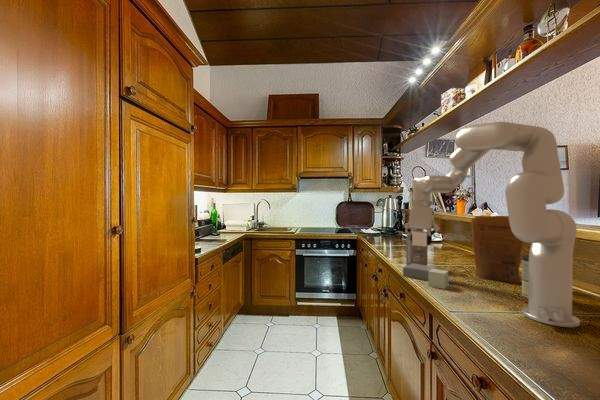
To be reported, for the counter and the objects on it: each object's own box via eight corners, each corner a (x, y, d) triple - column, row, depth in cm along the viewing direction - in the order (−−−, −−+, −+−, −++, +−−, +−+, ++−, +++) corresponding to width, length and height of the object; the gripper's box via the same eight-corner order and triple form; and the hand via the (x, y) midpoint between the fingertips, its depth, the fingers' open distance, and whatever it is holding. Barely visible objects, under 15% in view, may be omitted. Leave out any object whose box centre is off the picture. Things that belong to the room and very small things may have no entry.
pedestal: (431, 281, 119) (431, 271, 119) (403, 276, 127) (403, 267, 127) (438, 275, 128) (438, 266, 128) (411, 271, 136) (412, 262, 136)
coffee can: (545, 293, 104) (545, 255, 104) (567, 303, 94) (567, 261, 94) (514, 292, 106) (515, 254, 106) (533, 301, 95) (533, 260, 95)
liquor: (428, 270, 139) (428, 209, 139) (409, 269, 141) (409, 209, 141) (423, 265, 148) (424, 209, 148) (405, 265, 150) (405, 208, 150)
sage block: (444, 289, 108) (444, 273, 108) (428, 286, 112) (428, 271, 112) (448, 285, 113) (448, 270, 113) (432, 283, 117) (432, 268, 117)
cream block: (426, 246, 124) (426, 232, 124) (412, 245, 127) (412, 231, 127) (430, 244, 128) (430, 231, 128) (416, 243, 132) (416, 230, 132)
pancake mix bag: (524, 285, 114) (525, 216, 114) (470, 277, 126) (470, 215, 126) (525, 282, 119) (525, 216, 119) (472, 274, 131) (473, 214, 131)
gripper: (444, 204, 125) (443, 245, 125) (405, 204, 136) (404, 241, 136) (439, 204, 119) (439, 247, 119) (399, 204, 130) (399, 242, 130)
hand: (421, 243), depth 128 cm, fingers closed on cream block, 6 cm apart
